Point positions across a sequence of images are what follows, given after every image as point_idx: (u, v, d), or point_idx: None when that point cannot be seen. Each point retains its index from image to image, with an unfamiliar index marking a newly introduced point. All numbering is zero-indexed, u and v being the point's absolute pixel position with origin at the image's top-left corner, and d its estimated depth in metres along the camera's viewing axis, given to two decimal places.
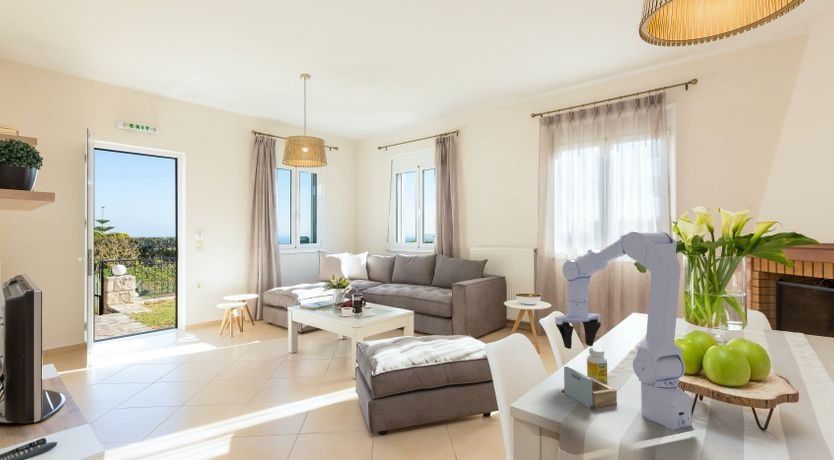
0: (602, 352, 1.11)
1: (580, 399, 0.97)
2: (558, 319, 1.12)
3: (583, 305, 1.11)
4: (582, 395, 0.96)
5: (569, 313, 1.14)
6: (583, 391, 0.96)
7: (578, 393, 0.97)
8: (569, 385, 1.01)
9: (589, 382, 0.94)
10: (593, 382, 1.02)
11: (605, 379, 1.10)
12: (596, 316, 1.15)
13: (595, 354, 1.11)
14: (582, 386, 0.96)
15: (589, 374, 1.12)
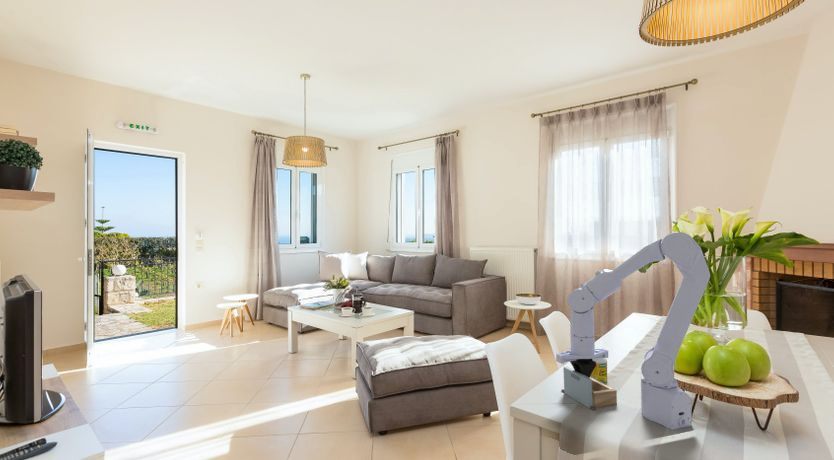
0: None
1: (580, 399, 0.97)
2: (559, 357, 0.96)
3: (589, 341, 0.96)
4: (582, 395, 0.96)
5: (572, 349, 0.98)
6: (583, 391, 0.96)
7: (578, 393, 0.97)
8: (569, 385, 1.01)
9: (589, 382, 0.94)
10: (593, 382, 1.02)
11: (605, 379, 1.10)
12: (603, 353, 0.99)
13: None
14: (582, 386, 0.96)
15: None
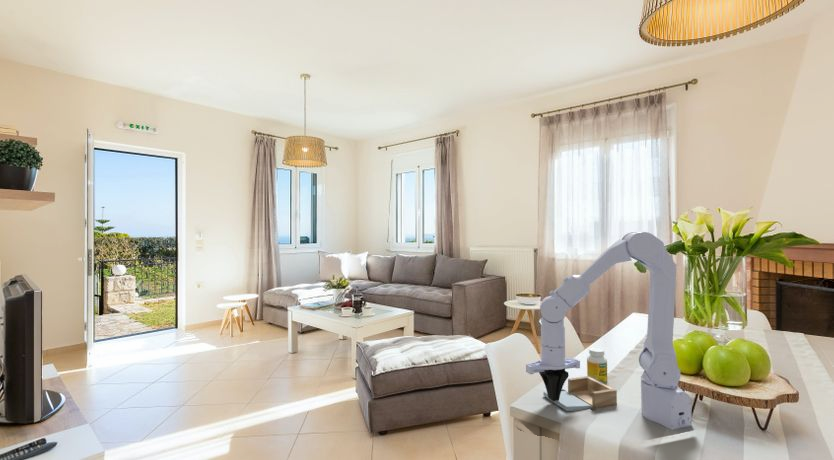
0: (602, 352, 1.11)
1: None
2: (529, 368, 0.94)
3: (558, 351, 0.94)
4: None
5: (542, 360, 0.96)
6: None
7: None
8: None
9: (569, 409, 0.92)
10: (593, 382, 1.02)
11: (605, 379, 1.10)
12: (574, 363, 0.97)
13: (595, 354, 1.11)
14: None
15: (589, 374, 1.12)
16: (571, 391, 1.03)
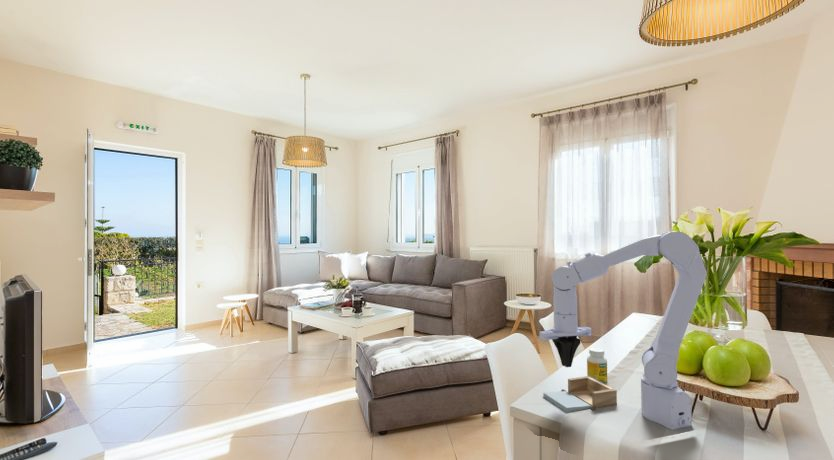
0: (602, 352, 1.11)
1: None
2: (543, 335, 0.96)
3: (571, 318, 0.96)
4: None
5: (555, 327, 0.98)
6: None
7: None
8: None
9: (569, 410, 0.92)
10: (593, 382, 1.02)
11: (605, 379, 1.10)
12: (586, 330, 0.99)
13: (595, 354, 1.11)
14: None
15: (589, 374, 1.12)
16: (571, 391, 1.03)
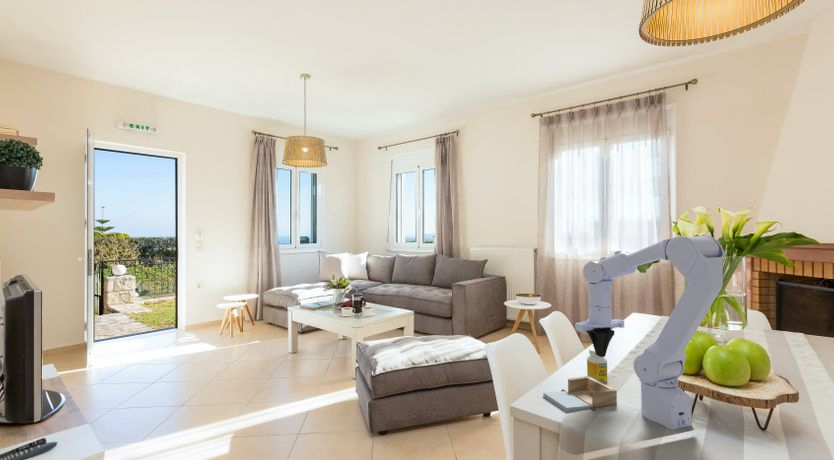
0: None
1: None
2: (579, 326, 1.02)
3: (606, 310, 1.02)
4: None
5: (590, 319, 1.04)
6: None
7: None
8: None
9: (569, 410, 0.92)
10: (593, 382, 1.02)
11: (605, 379, 1.10)
12: (620, 322, 1.05)
13: (595, 354, 1.11)
14: None
15: (589, 374, 1.12)
16: (571, 391, 1.03)
